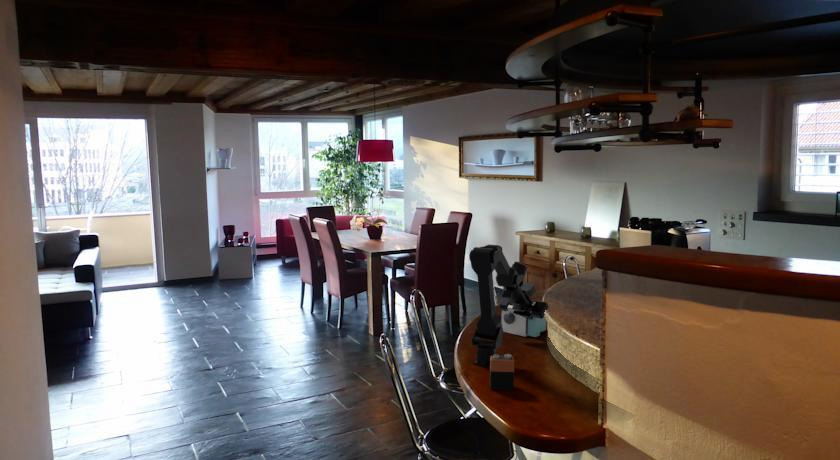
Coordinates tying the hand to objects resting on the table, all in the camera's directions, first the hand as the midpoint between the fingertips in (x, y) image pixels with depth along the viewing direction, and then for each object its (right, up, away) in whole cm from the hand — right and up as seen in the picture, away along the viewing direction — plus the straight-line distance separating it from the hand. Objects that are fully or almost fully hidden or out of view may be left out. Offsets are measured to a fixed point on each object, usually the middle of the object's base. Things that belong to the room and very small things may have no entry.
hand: (531, 318), depth 230 cm
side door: (+4, -6, +5) cm, 9 cm away
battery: (-18, -13, -50) cm, 55 cm away
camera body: (-1, -6, +11) cm, 12 cm away
